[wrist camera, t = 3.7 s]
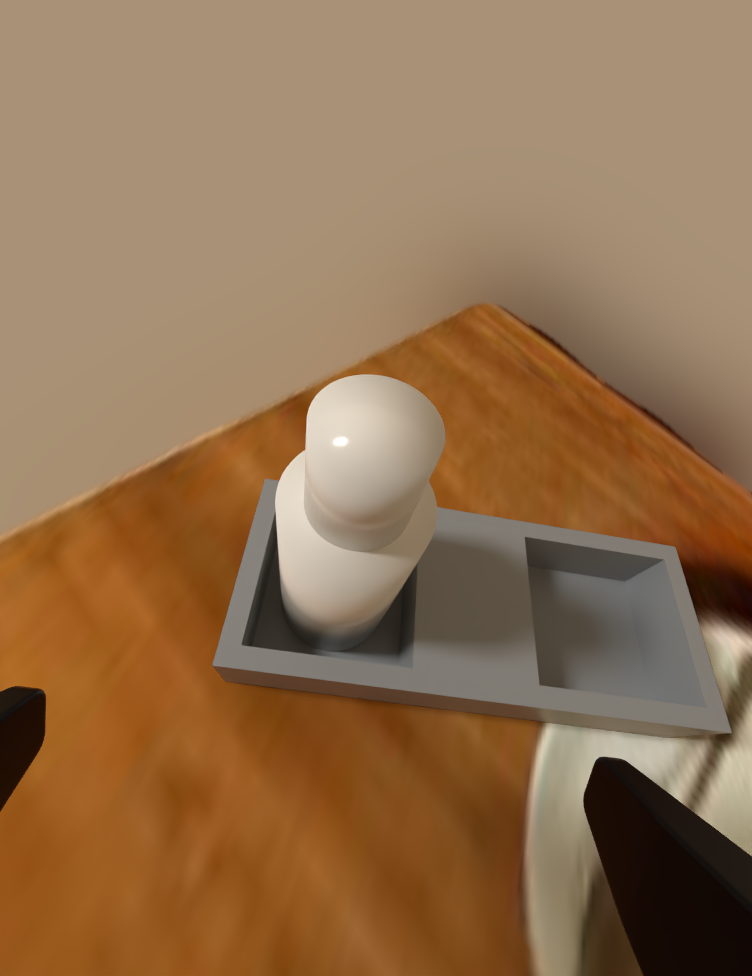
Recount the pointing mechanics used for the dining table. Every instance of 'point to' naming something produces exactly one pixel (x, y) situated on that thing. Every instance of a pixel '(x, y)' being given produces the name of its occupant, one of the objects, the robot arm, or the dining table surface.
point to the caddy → (499, 630)
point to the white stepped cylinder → (356, 507)
